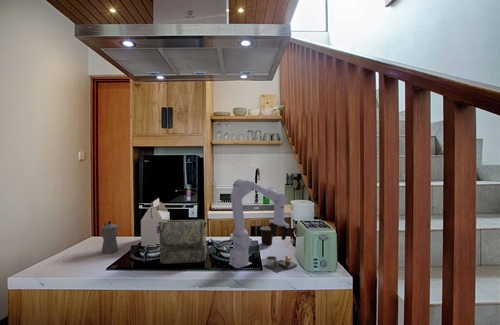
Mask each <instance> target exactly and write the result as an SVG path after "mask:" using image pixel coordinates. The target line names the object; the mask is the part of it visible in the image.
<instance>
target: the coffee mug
mask: <svg viewBox="0 0 500 325" xmlns="http://www.w3.org/2000/svg"><path fill="white" fill-rule="evenodd" d="M259 229H260V230H259V231H260V238H261V245H263V246H271V245H273V238H274V237H273V236H272V232H271V229H270V227H269V226H261V227H260V228H259Z"/></svg>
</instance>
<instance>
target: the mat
mask: <svg viewBox="0 0 500 325" xmlns="http://www.w3.org/2000/svg"><path fill="white" fill-rule="evenodd" d="M284 261H285V260H283V259H279V260H277V266H275V267H268V266H266V264H264V265H262V267H263V268H265V269H267V270H270V271H271V272H273V273H276V274H278V273H281V272H284V271H287V270H288V269H286V268H283V267H281V266H279V263H281V262H284Z"/></svg>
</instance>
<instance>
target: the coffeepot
mask: <svg viewBox="0 0 500 325" xmlns="http://www.w3.org/2000/svg"><path fill="white" fill-rule="evenodd" d="M100 228H101V229H100V230H101V235H102V239H103V242H102V247H101V254H104V255H111V254H115V253H118V251H119V248H118V241H117V235H118V229H119V224H114V223H112V221H109V220H108V221H107V222H106V223H104V225H102V226H101V227H100Z"/></svg>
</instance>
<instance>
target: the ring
mask: <svg viewBox="0 0 500 325" xmlns="http://www.w3.org/2000/svg"><path fill="white" fill-rule="evenodd" d="M277 261H278V257H277V256H275V255H269V256H266V257H265V265H266V266H268V267H275V266H277Z"/></svg>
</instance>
